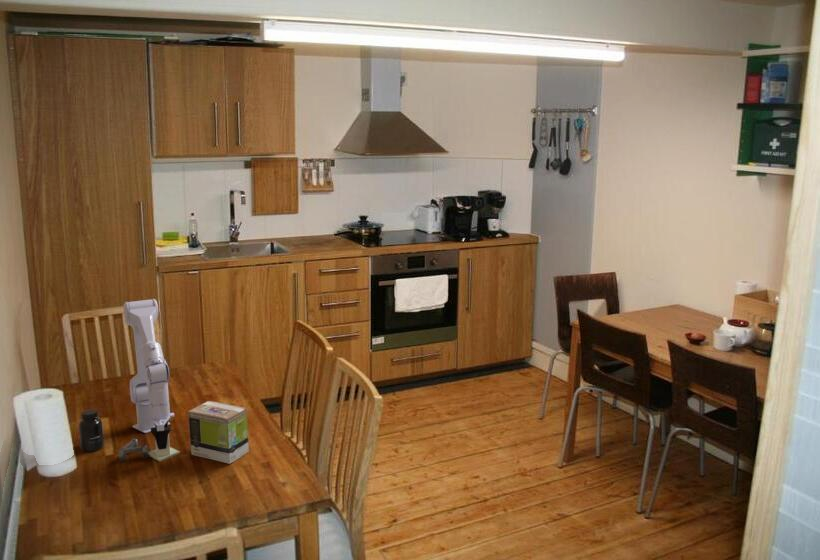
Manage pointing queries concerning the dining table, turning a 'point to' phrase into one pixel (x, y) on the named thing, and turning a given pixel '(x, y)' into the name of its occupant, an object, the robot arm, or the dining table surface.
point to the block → (163, 451)
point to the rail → (133, 449)
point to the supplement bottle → (91, 431)
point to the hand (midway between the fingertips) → (162, 443)
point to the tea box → (218, 431)
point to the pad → (163, 457)
